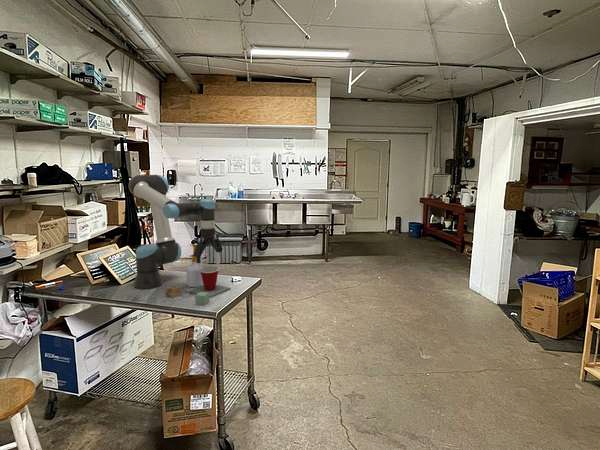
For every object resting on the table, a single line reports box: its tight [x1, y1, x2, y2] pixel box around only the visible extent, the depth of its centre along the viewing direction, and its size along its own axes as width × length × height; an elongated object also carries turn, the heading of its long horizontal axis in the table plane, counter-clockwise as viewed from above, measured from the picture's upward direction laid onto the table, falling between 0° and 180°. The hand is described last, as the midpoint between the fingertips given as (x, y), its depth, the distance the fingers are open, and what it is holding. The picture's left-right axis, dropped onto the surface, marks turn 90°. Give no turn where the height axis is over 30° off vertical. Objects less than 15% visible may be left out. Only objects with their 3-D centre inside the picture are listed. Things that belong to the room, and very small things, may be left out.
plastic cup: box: [199, 265, 220, 291], centre depth 205 cm, size 11×11×12 cm
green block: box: [194, 292, 210, 306], centre depth 186 cm, size 5×5×5 cm
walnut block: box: [165, 285, 181, 299], centre depth 197 cm, size 5×5×5 cm
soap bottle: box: [186, 243, 204, 288], centre depth 214 cm, size 9×9×25 cm
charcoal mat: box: [188, 284, 231, 299], centre depth 205 cm, size 16×16×1 cm
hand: (208, 266), depth 203 cm, fingers open, 13 cm apart
